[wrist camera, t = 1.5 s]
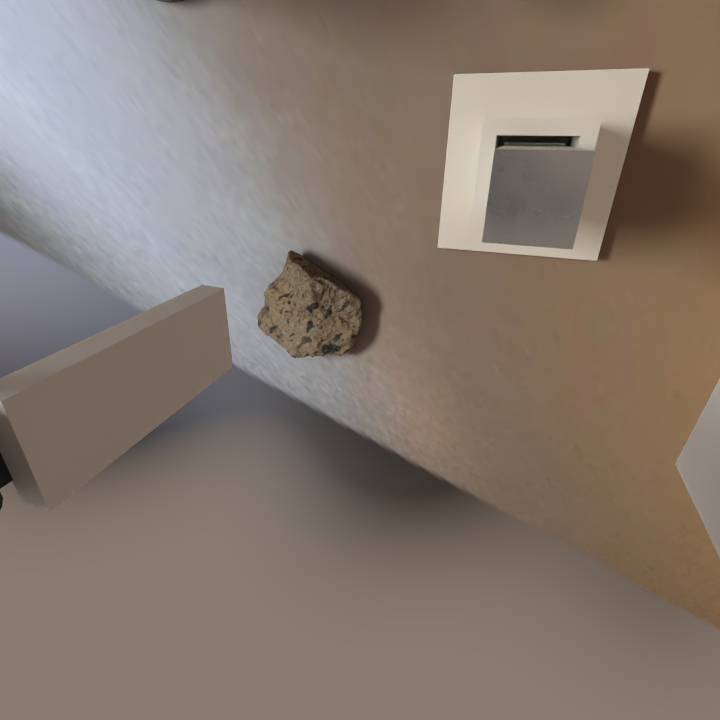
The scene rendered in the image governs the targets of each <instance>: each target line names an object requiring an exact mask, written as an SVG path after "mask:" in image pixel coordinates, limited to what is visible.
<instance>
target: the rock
mask: <svg viewBox="0 0 720 720" xmlns="http://www.w3.org/2000/svg"><path fill="white" fill-rule="evenodd" d="M264 296H265V306H264V307H263V308H262V309H261V311H260V313H259V315H258V326H259V328H260V329H261V330H262V331H263V332H264V333H265V334H266V335H268V336H270V337H271V338H273V339H274V340H275V341H276V342H277V343H279V344H280V345H281V346H282V347H283V348H285V349H286V351H287V352H288V353H289V354H290V355H291V356H292V357H294V358H296V357H297V358H298V357H306V356H309V355H310V356H311V357H314V356H324V355H325V354H327V353H330V352H333V353H334V354H336V355H339V356H342V355H343V354H344V353H345V352H347V351H348V350H349V349H351V348H352V347H353V346H354V344H355V342H356V338H357V335H358V333H359V331H360V329H361V324H362V322H361V315H362V309H361V302H360V300H359V298H358V297H357V296H356V295H355V294H354V293H352V292H351V291H350V290H348V289H346V288H345V287H344V286H343V284H342V283H341V282H340V281H339V280H338V279H336V278H335V277H332V276H330V275H328V274H327V273H325V272H324V271H322V270H321V269H319V268H318V267H317V266H315V265H313V264H312V263H310V262H308V261H307V259H306V258H304V257H303V256H301V255H300V254H298V253H296V252H294V251H292V250H291V251H289V252H288V257H287V261H286V264H285V267H284V269H283V272H282V274H281V275H280V276H279V277H278V278H277V279H276V280H275V281H274V282H273V283H271V284H270V285H269V286H268V289H267V290H266V292H265V293H264Z"/></svg>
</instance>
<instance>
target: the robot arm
mask: <svg viewBox="0 0 720 720" xmlns="http://www.w3.org/2000/svg"><path fill="white" fill-rule="evenodd" d="M157 1H163V2H174V1H179V0H157ZM231 367H233V364H232V355H231V347H230V338H229V330H228V321H227V312H226V304H225V295H224V288H219V287H213V286H207V285H201V286H199V287H197V288H195V289H192V290H190V291H188V292H186V293H184V294H182V295H179V296H177V297H175V298H173V299H171V300H169V301H167V302H164V303H162V304H160V305H158V306H156V307H154V308H151V309H149V310H147V311H145V312H143V313H141V314H138V315H136V316H134V317H132V318H130V319H128V320H126V321H123V322H121V323H119V324H117V325H115V326H113V327H110V328H108V329H106V330H104V331H102V332H100V333H97V334H95V335H93V336H91V337H89V338H87V339H84V340H82V341H80V342H78V343H76V344H74V345H72V346H69V347H67V348H65V349H63V350H61V351H59V352H56V353H54V354H52V355H50V356H48V357H46V358H43V359H41V360H39V361H37V362H35V363H33V364H31V365H28V366H26V367H24V368H22V369H20V370H18V371H16V372H13V373H11V374H9V375H7V376H5V377H2V378H0V488H2V487H3V486H5V485H6V484H8V483H9V482H11V481H13V483H14V485H15V487H16V489H17V491H18V494H19V496H20V498H21V500H22V502H24V503H27V504H30V505H33V506H35V507H38V508H41V509H43V510H46V511H48V512H50V511H51V510H53V509H54V508H55V507H56V506H58V505H59V504H60V503H61V502H63V501H64V500H65V499H66V498H68V497H69V496H70V495H72V494H73V493H74V492H75V491H77V490H78V489H79V488H80V487H82V486H83V485H84V484H85V483H86V482H87V481H89V480H90V479H92V478H93V477H94V476H95V475H97V474H98V473H99V472H100V471H102V470H103V469H104V468H106V467H107V466H108V465H109V464H111V463H112V462H113V461H114V460H116V459H117V458H118V457H119V456H121V455H122V454H123V453H124V452H126V451H127V450H128V449H129V448H131V447H132V446H133V445H134V444H136V443H137V442H138V441H140V440H141V439H142V438H143V437H145V436H146V435H147V434H148V433H150V432H151V431H152V430H153V429H155V428H156V427H157V426H158V425H160V424H161V423H162V422H163V421H165V420H166V419H167V418H168V417H170V416H171V415H172V414H173V413H175V412H176V411H177V410H178V409H180V408H181V407H182V406H183V405H185V404H186V403H187V402H188V401H190V400H191V399H192V398H193V397H195V396H196V395H197V394H199V393H200V392H201V391H202V390H204V389H205V388H206V387H207V386H209V385H210V384H211V383H212V382H214V381H215V380H216V379H218V378H219V377H220V376H221V375H223V374H224V373H225V372H226V371H228V370H229V369H230V368H231ZM675 465H676V467H677V469H678V471H679V473H680V475H681V477H682V480H683V482H684V484H685V486H686V488H687V490H688V492H689V494H690V496H691V499H692V501H693V503H694V505H695V507H696V509H697V511H698V513H699V515H700V518H701V520H702V522H703V524H704V526H705V528H706V530H707V532H708V534H709V537H710V539H711V541H712V543H713V545H714V547H715V549H716V551H717V553H718V556H719V558H720V379H719V381H718V383H717V385H716V387H715V389H714V391H713V393H712V394H711V396H710V398H709V400H708V402H707V404H706V406H705V408H704V410H703V412H702V414H701V415H700V417H699V419H698V421H697V423H696V425H695V427H694V429H693V431H692V433H691V434H690V436H689V438H688V440H687V442H686V444H685V446H684V448H683V450H682V452H681V454H680V455H679V457H678V459H677V461H676V463H675ZM2 501H3V497H2V495H1V493H0V509H1V507H2Z"/></svg>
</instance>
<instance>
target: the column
mask: <svg viewBox="0 0 720 720" xmlns="http://www.w3.org/2000/svg"><path fill="white" fill-rule="evenodd" d="M596 152H597V151H594V150H588V149H582V148H576V147H569V146H565V143H525V142H505V144H504V146H501V147H499V148H496V149H495V153H494V160H493V167H492V174H491V181H490V188H489V195H488V202H487V209H486V216H485V223H484V230H483V237H482V242H483V243H496V244H508V245H521V246H534V247H547V248H560V249H572V250H573V246H574V242H575V238H576V234H577V230H578V225H579V221H580V217H581V213H582V209H583V205H584V201H585V197H586V193H587V189H588V184H589V180H590V176H591V172H592V168H593V164H594V160H595V156H596Z"/></svg>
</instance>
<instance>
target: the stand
mask: <svg viewBox="0 0 720 720" xmlns="http://www.w3.org/2000/svg"><path fill="white" fill-rule="evenodd" d="M648 72H649V68H645V69H612V70H579V71H546V72H513V73H480V74H454V81H453V91H452V102H451V112H450V123H449V133H448V144H447V154H446V165H445V175H444V186H443V196H442V207H441V217H440V228H439V239H438V248H450V249H462V250H474V251H486V252H498V253H510V254H522V255H534V256H546V257H558V258H570V259H582V260H594V261H597V259H598V255H599V251H600V248H601V244H602V240H603V237H604V233H605V229H606V226H607V222H608V218H609V215H610V211H611V207H612V204H613V200H614V196H615V193H616V189H617V185H618V182H619V178H620V174H621V171H622V167H623V164H624V160H625V156H626V153H627V149H628V145H629V142H630V138H631V134H632V131H633V127H634V123H635V120H636V116H637V112H638V109H639V105H640V101H641V98H642V94H643V90H644V87H645V83H646V79H647V76H648ZM505 142H525V143H565V146H569V147H576V148H582V149H588V150H594V151H597V152H596V156H595V160H594V164H593V168H592V172H591V176H590V180H589V184H588V189H587V193H586V197H585V201H584V205H583V209H582V213H581V217H580V221H579V225H578V230H577V234H576V238H575V242H574V246H573V250H572V249H560V248H547V247H534V246H521V245H508V244H496V243H483V242H482V237H483V230H484V223H485V216H486V209H487V202H488V195H489V188H490V181H491V174H492V167H493V160H494V153H495V149H496V148H499V147H501V146H504V144H505Z"/></svg>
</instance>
